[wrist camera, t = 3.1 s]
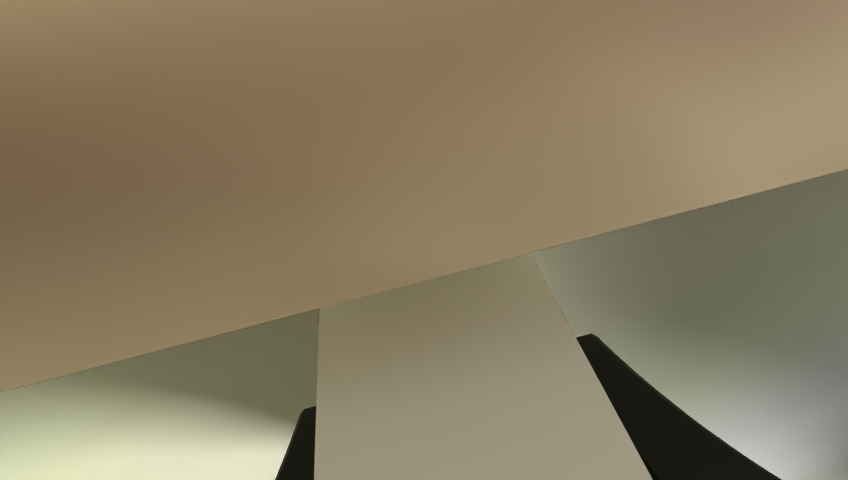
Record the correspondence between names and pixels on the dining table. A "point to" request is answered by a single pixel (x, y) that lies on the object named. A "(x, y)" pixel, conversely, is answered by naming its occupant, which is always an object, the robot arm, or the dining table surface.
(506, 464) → the plug
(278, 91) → the socket plate
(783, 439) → the dining table surface
